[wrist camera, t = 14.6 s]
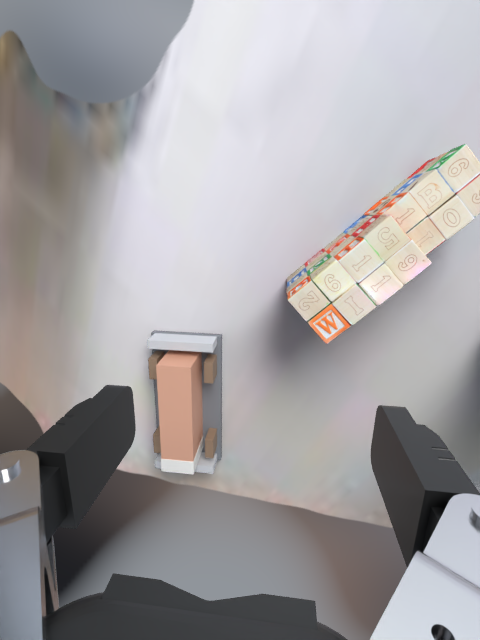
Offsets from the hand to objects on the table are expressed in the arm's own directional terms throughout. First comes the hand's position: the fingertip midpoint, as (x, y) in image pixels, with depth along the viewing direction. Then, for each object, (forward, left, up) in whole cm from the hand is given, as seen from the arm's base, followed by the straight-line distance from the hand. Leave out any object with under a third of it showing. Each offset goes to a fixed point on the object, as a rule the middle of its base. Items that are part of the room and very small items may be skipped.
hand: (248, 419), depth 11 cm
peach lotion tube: (+12, +20, -35) cm, 42 cm away
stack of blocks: (-11, -4, -36) cm, 38 cm away
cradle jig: (+12, +20, -36) cm, 43 cm away
